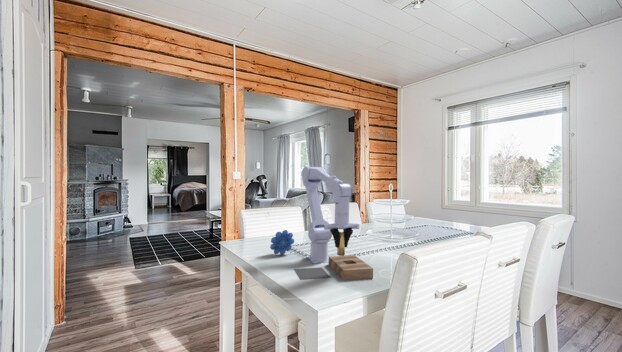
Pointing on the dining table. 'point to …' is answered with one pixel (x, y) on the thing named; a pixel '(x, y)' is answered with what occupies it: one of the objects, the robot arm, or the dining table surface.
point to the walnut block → (350, 267)
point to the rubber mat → (311, 273)
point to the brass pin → (341, 244)
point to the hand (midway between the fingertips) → (341, 246)
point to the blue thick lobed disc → (282, 242)
